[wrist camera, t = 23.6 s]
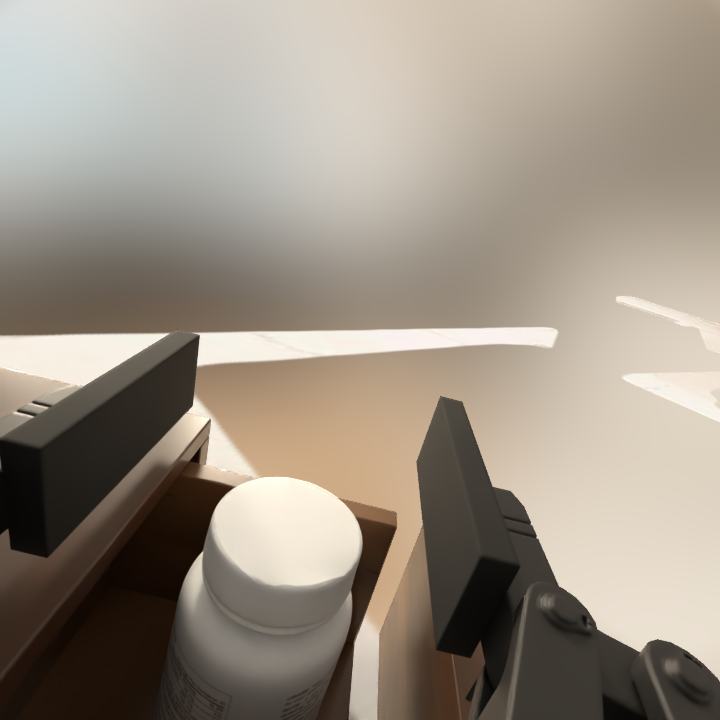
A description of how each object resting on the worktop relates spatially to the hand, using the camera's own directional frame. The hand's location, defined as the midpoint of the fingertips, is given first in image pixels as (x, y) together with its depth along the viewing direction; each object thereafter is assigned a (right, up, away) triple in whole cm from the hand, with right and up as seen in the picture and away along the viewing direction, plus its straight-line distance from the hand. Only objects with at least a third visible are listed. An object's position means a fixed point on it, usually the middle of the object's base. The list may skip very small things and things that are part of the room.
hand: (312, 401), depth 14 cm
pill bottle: (-3, -11, -1) cm, 11 cm away
